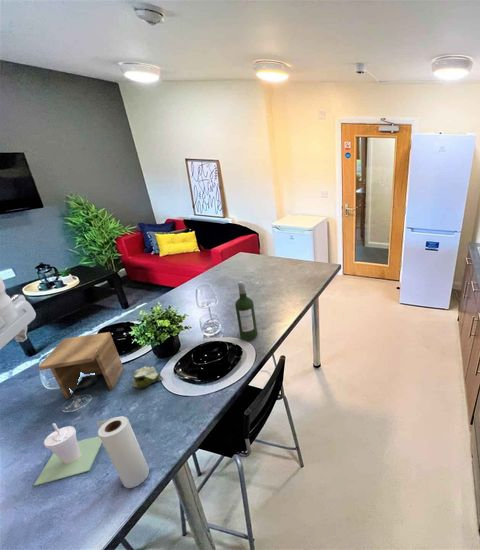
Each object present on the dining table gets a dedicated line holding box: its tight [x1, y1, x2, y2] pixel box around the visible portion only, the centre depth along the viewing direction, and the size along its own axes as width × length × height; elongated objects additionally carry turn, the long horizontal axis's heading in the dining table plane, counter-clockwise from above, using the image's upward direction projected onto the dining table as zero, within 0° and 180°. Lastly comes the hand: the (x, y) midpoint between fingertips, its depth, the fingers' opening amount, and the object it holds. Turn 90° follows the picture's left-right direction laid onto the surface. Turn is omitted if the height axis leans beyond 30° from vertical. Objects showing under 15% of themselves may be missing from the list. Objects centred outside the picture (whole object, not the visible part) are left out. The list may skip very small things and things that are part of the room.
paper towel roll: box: [96, 415, 150, 489], centre depth 78 cm, size 7×6×21 cm
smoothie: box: [43, 422, 81, 464], centre depth 83 cm, size 6×6×14 cm
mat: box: [33, 435, 103, 487], centre depth 86 cm, size 12×12×1 cm
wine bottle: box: [234, 280, 258, 341], centre depth 138 cm, size 8×8×30 cm
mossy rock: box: [132, 366, 164, 389], centre depth 113 cm, size 9×9×8 cm
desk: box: [37, 331, 125, 400], centre depth 107 cm, size 14×16×18 cm
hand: (9, 352), depth 81 cm, fingers open, 8 cm apart
